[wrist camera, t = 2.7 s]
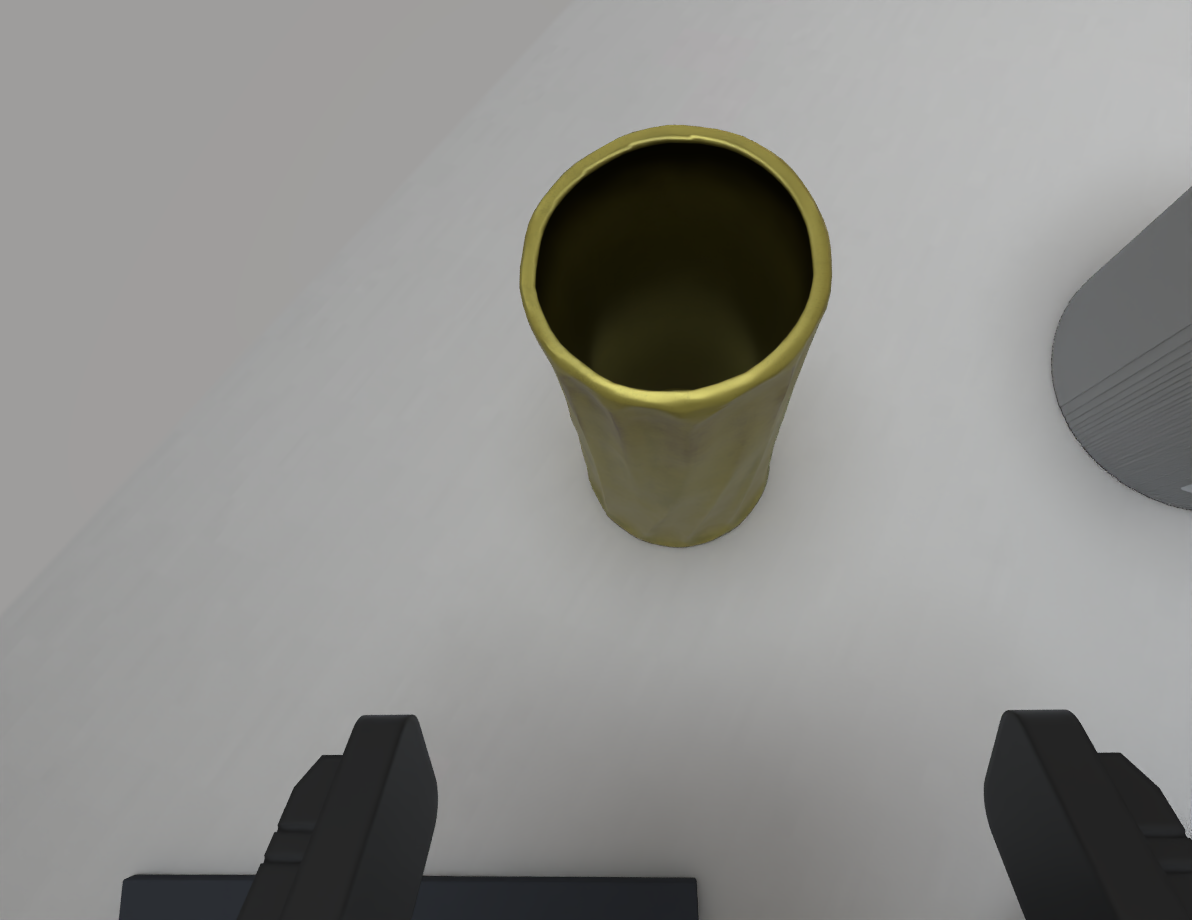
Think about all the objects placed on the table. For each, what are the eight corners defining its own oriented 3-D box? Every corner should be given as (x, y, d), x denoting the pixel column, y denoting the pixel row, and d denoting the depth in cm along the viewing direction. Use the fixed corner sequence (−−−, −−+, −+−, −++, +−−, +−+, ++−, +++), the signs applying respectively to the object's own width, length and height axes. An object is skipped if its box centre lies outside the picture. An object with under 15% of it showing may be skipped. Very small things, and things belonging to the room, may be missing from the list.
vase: (551, 470, 27) (419, 290, 14) (664, 338, 28) (649, 38, 14) (690, 586, 26) (701, 515, 12) (806, 444, 27) (940, 225, 13)
